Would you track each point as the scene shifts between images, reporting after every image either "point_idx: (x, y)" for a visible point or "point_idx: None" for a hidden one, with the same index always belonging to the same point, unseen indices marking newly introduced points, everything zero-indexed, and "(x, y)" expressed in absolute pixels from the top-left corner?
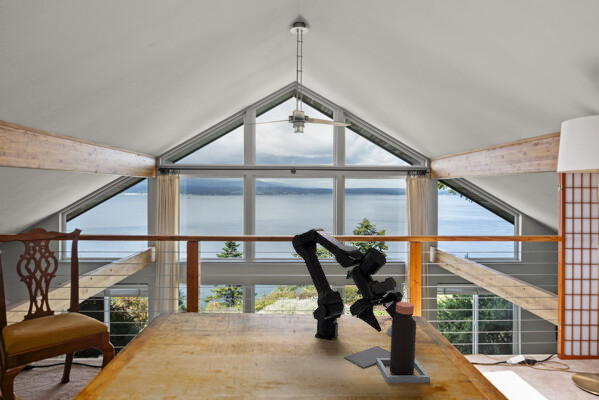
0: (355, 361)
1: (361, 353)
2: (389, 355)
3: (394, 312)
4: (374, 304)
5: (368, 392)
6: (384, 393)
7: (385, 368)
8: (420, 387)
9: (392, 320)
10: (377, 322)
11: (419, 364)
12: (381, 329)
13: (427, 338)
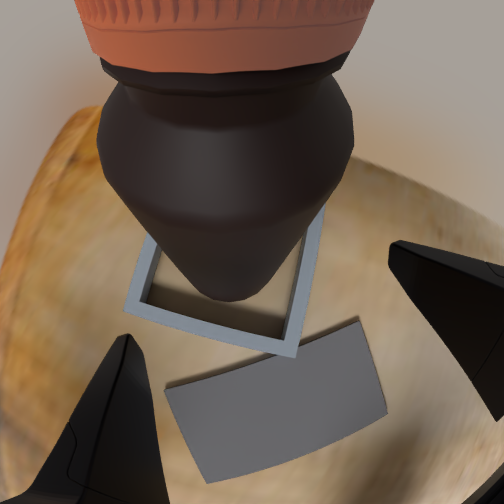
0: (368, 371)
1: (312, 436)
2: (200, 397)
3: (124, 470)
4: (492, 497)
5: (390, 178)
6: (351, 159)
7: (302, 258)
8: None
9: (350, 151)
10: (450, 258)
11: (142, 252)
12: (395, 242)
13: (7, 446)
